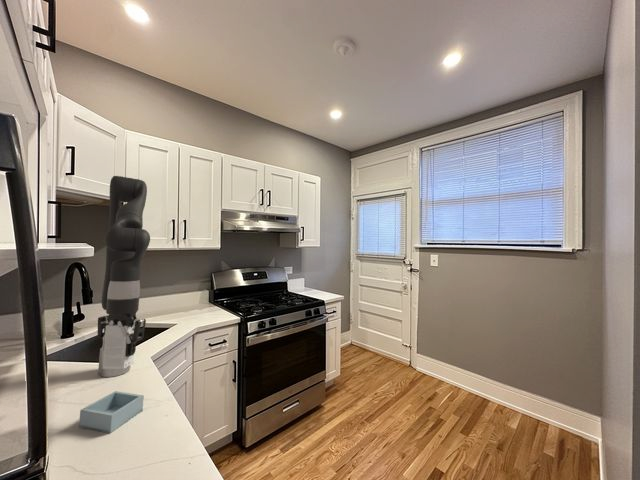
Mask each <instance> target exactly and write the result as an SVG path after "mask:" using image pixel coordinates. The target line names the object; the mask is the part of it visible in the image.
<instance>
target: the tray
mask: <svg viewBox="0 0 640 480" xmlns="http://www.w3.org/2000/svg"><path fill="white" fill-rule="evenodd" d="M143 407H144V395H143V394H142V395H141V394H136V393H130V392H124V391H118V390H116V391H113V392H111V393H109V394H107V395H105V396H104V397H102V398H100V399H97V400H96V401H94V402H92V403H91V404H89V405H87V406H85V407H83V408H82V409H80V410H79V422H78V428H80V429H84V430H85V429H86V430H92V431H97V432H102V433H107V434H112V433H113V432H114V431H116V430H117V429H119V428H121V427H122V426H123V425H124V424H126V423H128V422H129V421H130V420H132V419H134V418H135V417H136V416H138V415H139V414H140V413H142V412H143V411H144V409H143ZM137 414H138V415H137ZM134 416H135V417H134ZM131 418H132V419H131Z"/></svg>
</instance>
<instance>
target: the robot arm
mask: <svg viewBox="0 0 640 480" xmlns="http://www.w3.org/2000/svg"><path fill="white" fill-rule="evenodd" d="M147 186H148V185H147V183H146V182H145V181H144V180H142V179H138V178H133V177H127V176H121V175H113V176H112V177H111V179H110V182H109V219H108V220H109V221H108V227H107V228H108V229H107V232H106V234H105V237H104V243H105V246H106V251H105V252H106V254H105V272H104V273H105V274H104V280H103V287H102V293H101V294H102V295H101V308H102V309H103V310H104V311H105V313H106V314H107V315H101V316H99V317H98V318H97V338H98V339H102V347H101V348H100V349H99V356H98V357H99V359H98V369H97V370H98V371H97V374H98V375H100V377H103V378H112V377H117V376H120V375H123V374H126V373H128V372H129V371H130V369H131V365H129V366H128V367H126V368H124V369H103V368H102V367H103V355H104V343H105V330H106V325H118V327H119V328H121V332H122V335H123V337H124V336H127V339H126V341H127V344H126V357H129V356H132V355H133V354H134V355H135V354H136V349H137V348H136V347H137V342H139V341H141V340H144V336H145V335H144V334H145V328H146V322H147V319H145V318H142V319H141V318H137V312H138V311H139V306H140V304H139V303H140V294H141V292H140V291H141V283H140V281H141V269H142V263H143V260H144V256H145V255H146V252H147V250H148V248H149V245H150V242H151V236H150V233H149V232H148V230H147V229H144V228H143V223H144V222H143V219H144V218H143V214H144V213H143V212H144V209H145V206H146V203H147V202H146V200H147V196H148V195H147V194H148V187H147ZM121 203H124V204H122V205H121ZM124 326H128V327H131V328H132V326H133V330H132V331H130V332H126V330H125V328H124ZM130 334H131V336H132V338H131V337H130Z"/></svg>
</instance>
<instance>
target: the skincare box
mask: <svg viewBox="0 0 640 480" xmlns="http://www.w3.org/2000/svg"><path fill="white" fill-rule="evenodd" d="M124 328H125V330H126V332H130V331H132V330H133V326H132V328H131V327H128V326H124ZM130 337H131V338H132V336H131V334H130ZM126 339H127V336H124V337H123V335H122V332H121V328H119V327H118V325H106V330H105V343H104V355H103V367H102V368H103V369H124V368H126V367H128V366H129V365H130V366H131V365H132V364H134V356H135V353H134V354H133V355H132V356H129V357H126V344H127V341H126Z"/></svg>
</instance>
